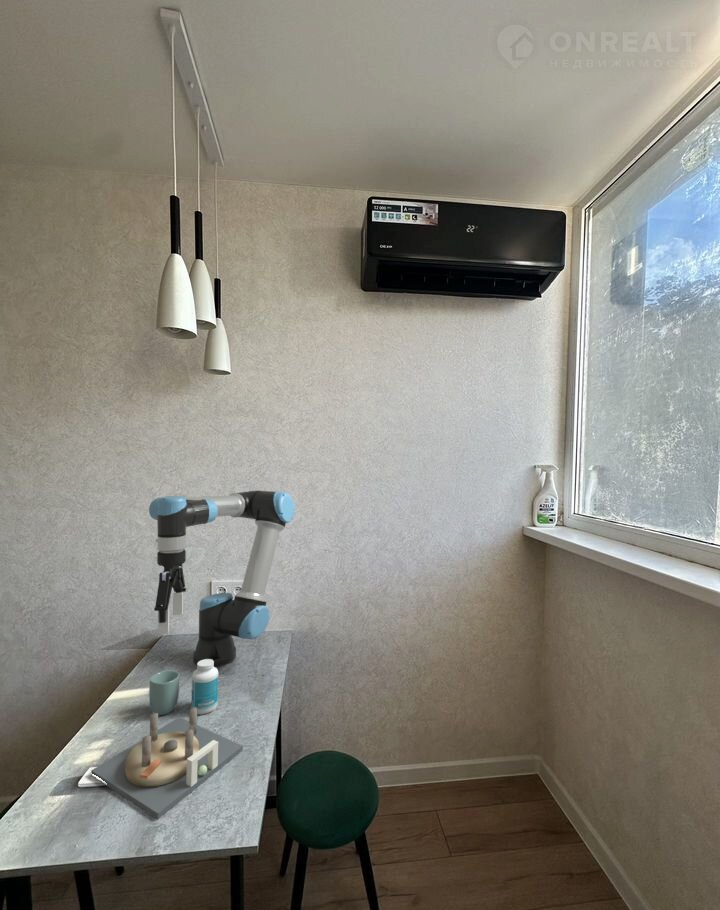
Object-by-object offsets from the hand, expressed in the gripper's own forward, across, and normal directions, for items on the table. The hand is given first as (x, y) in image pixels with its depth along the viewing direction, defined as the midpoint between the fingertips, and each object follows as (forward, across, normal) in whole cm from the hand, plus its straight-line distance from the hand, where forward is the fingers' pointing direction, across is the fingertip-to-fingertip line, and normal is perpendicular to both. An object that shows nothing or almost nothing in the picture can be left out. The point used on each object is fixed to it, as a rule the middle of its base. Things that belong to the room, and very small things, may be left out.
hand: (171, 623), depth 123 cm
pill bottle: (+27, -2, +9) cm, 28 cm away
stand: (+26, +21, +6) cm, 34 cm away
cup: (+26, -2, -2) cm, 27 cm away
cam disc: (+24, +22, +5) cm, 33 cm away
